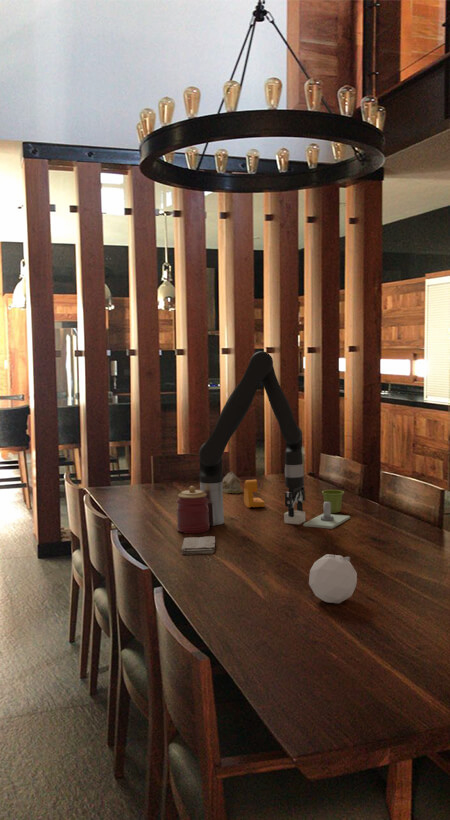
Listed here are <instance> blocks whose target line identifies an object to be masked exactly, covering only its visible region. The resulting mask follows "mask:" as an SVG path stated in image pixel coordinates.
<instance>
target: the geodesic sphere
mask: <svg viewBox="0 0 450 820" xmlns="http://www.w3.org/2000/svg"><path fill="white" fill-rule="evenodd" d="M350 561H351V556H345V557H343V555H339V554H337V555H336V554H327V553H326V554H325V555H323V556H322V557H320V558H319V559H317V560H316V561H314V563H313V565H312V566H311V568H310V570H309V579H308V586H309V587H310V589H311V590H312V592H313V594H314V595H315V597H316V598H318V599H320V600H322V601H324V602H325V603H329V604H332V603H333V604H341V603H342V602H344V601H345V600H347V599H349V598H350V597H352V596H353V593H354V592H355V590H356V587H357V581H358V580H357V579H358V573H357V571H356V569H355V568H354V565H352V563H351V562H350Z"/></svg>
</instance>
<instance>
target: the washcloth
mask: <svg viewBox="0 0 450 820" xmlns="http://www.w3.org/2000/svg"><path fill="white" fill-rule="evenodd" d="M215 538H216V536H212V535H210V536H209V535H208V536H200V537H194V536H193V537H184V538H183V542H182V545H181V551H182V552H181V555H213V554H214V552H215V550H216V549H215V548H216V547H215V546H216V539H215Z"/></svg>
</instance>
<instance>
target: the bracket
mask: <svg viewBox="0 0 450 820" xmlns="http://www.w3.org/2000/svg"><path fill="white" fill-rule="evenodd" d="M255 492H258V480H257V479H246V480H245V479H244V491H243V503H244V506H245V505H246V506H247V507H248V508H249V509H251V507H253V508H264V507H265V500H263V499H262V498H260V497H254V493H255ZM246 506H245V507H246ZM247 507H246V508H247ZM248 508H247V509H248Z"/></svg>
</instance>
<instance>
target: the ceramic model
mask: <svg viewBox="0 0 450 820" xmlns="http://www.w3.org/2000/svg"><path fill="white" fill-rule="evenodd" d="M240 485H241V480H240V479H239V478H238V476H237V475H236V474H235V473H234V471H230V472H228V473H227V474H225V476H223V492H226V493H225V494H227V493H236V494H241V493H244V491H243V488H242V487H241V486H240Z"/></svg>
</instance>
